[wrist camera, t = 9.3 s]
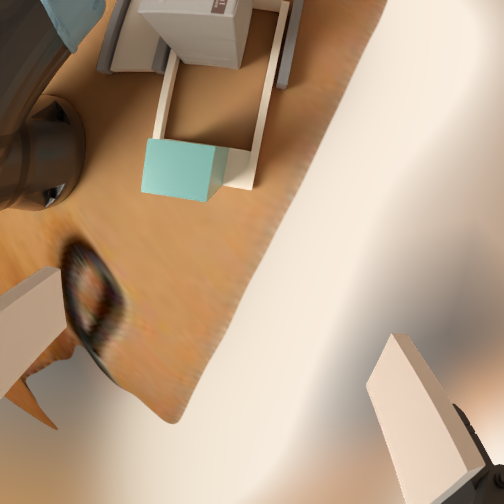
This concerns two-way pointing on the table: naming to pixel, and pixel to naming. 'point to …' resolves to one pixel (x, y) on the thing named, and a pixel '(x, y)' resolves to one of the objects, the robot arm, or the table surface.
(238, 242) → the table surface
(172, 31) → the skincare box
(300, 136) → the table surface
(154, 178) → the white and teal frame
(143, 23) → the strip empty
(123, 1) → the lane bed
